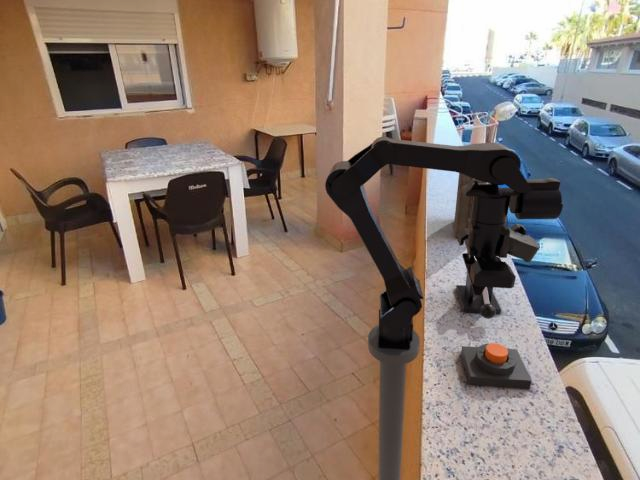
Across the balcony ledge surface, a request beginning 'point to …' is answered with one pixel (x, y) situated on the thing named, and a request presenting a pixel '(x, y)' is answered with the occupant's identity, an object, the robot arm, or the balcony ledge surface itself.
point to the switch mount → (474, 298)
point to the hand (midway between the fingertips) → (477, 294)
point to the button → (496, 353)
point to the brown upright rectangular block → (463, 205)
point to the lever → (487, 306)
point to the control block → (495, 369)
